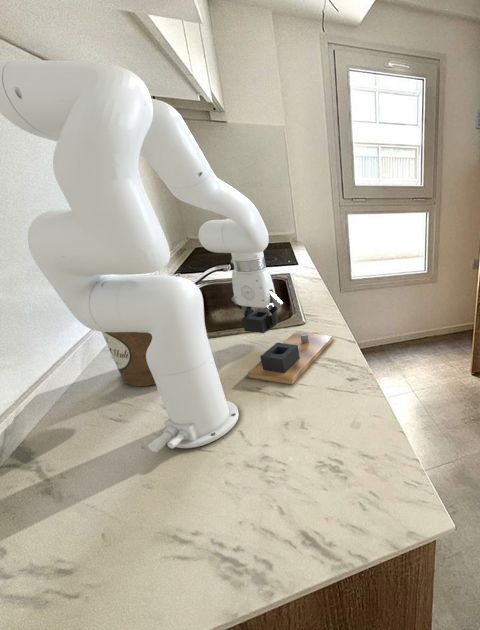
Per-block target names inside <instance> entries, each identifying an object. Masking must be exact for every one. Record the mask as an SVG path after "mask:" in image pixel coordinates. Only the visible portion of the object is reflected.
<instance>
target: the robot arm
mask: <svg viewBox="0 0 480 630" xmlns="http://www.w3.org/2000/svg"><path fill="white" fill-rule="evenodd" d="M0 114H1V115H2V117H4V118H5V119H6V120H7V121H9V122H10V123H12V124H13V125H14V126H15V127H17V128H19V129H20V130H23V131H24V132H26V133H29V134H31V135H33V136H36V137H39V138H43V139H46V140H49V141H53V142H56V144H55V146H54V147H55V148H54V152H53V157H52V158H53V159H52V166H53V168H52V169H53V173H54V177H55V180H56V182H57V185H58V187H59V188H60V190H61V192H62V194H63V196H64V198H65V200H66V202H67V205H68V207H69V208H59V209H54V210H49V211H45V212H42V213H41V214H39V215H37V216H36V217H35V218H34V219H33V220H32V222H31V223H30V225H29V227H28V231H27V243H28V249H29V252H30V254H31V257H32V259H33V261H34V263H35V264H36V266H37V267H38V268H39V270H40V272H41V273H42V274H43V276H44V277H45V279H46V280H47V281H48V283H49V284H50V285H51V287H52V288H53V290H54V291H55V292H56V295H58V296H59V298H60V299H61V301H62V302H63V304H64V305H65V306H66V308H67V309H68V310H69V311H70V314H72V315H73V317H75V319H76V320H77V321H78V322H79V323H81V324H82V325H83V326H84V327H86V328H87V329H90V330H92V331H95V332H100V333H102V332H144V333H150V334H151V335H152V341H151V343H150V345H149V347H148V349H147V352H146V360H147V364H148V366H149V369H150V371H151V373H152V376H153V378H154V381H155V383H156V384H155V387H156V388H157V390H158V393H159V396H160V398H161V401H162V403H163V405H164V408H165V410H166V413H167V416H168V419H167V420H165V421H164V425H165V429H163V431H162V434H161V435H159V436H157V437H156V438H155V439H154V440H152V441H151V442H150V443H148V445H147V447H148V449H149V450H150V451H151V452H152V453H158V452H159V451H160V450H161V449H162V448H164V447H165V446H166V445H167V447H168V448H169V449H174V448H179V449H193V448H198V447H202V446H205V445H208V444H210V443H212V442H214V441H217V440H218V439H220V438H221V437H224V436H225V435H226V434H227V433H228V432H230V431H231V429H233V427H235V426H236V424H237V422H238V421H239V417H240V416H239V415H240V412H239V408H238V406H237V405H236V404H235V403H233V402H232V401H229V400H227V399H226V395H225V392H224V389H223V385H222V381H221V378H220V375H219V372H218V369H217V365H216V361H215V358H214V355H213V352H212V348H211V345H210V342H209V337H208V333H207V329H206V322H205V306H204V305H205V304H204V298H203V293H202V291H201V289H200V288H199V287H198V285H197V284H196V283H195V282H194V281H192V280H190V279H187V278H184V277H181V276H176V275H168V274H167V275H166V274H152V273H156V272H159V271H161V270H163V269H164V268H166V267H167V266H168V264H169V262H170V259H171V249H170V245H169V243H168V240H167V238H166V235H165V233H164V230H163V228H162V225H161V223H160V221H159V219H158V216H157V214H156V212H155V209H154V208H153V205H152V203H151V201H150V199H149V196H148V194H147V192H146V189H145V186H144V184H143V180H142V178H141V175H140V173H141V172H140V157H142V158H144V159H145V160H146V161H147V162H148V163H149V164H150V166H151V167H152V168H153V170H154V172H155V173H156V174H157V176H158V177H159V178H160V179H161V181H162V182H163V183H164V185H165V186H166V187H167V188H168V190H169V191H170V192H171V194H172V195H173V196H174V197H175V198H176V199H178V200H179V201H181V202H183V203H185V204H188V205H192V206H193V207H196V208H198V209H202V210H204V211H209V212H212V213H215V214H218V215H220V216H224V217H225V218H226V219H211V220H208V221H205V222H204V223H203V224H201V226H200V227H199V230H198V236H197V237H198V241H199V243H200V245H201V246H202V247H203V248H204V249H205V250H207V251H209V252H211V253H216V254H217V253H218V254H230V255H231V260H230V264H231V265H233V269H232V271H231V282H232V283H231V286H232V292H233V295H232V297H231V301H232V302H233V303H234V304H235V305H236V307H238V309H240V312H241V313H242V314H243V317H245V316H247V315H248V314H250V313H252V312H254V311H255V310H254V309H252V308H257V309H264V310H265V312H266V314H267V316H266V322H267V327H268V329H269V330H271V329H272V328H274V327H275V326H277V324H276V318H275V313H276V312H277V311H278V310H279V309H280V308H281V307H282V306H283V304H284V302H283V300H281V299H280V298H279V297H278V296H277V294H276V290H275V286H274V282H273V278H272V275H271V273H270V271H269V269H268V268H267V266H266V260H265V255H264V251H265V250H266V248H267V247H268V245H269V240H270V239H269V237H270V236H269V232H268V229H267V226H266V224H265V222H264V219H263V218H262V215H261V214H260V211H259V210H258V208H257V207H256V205H255V204H254V203H253V202H252V201H251V200H250V199H249V198H247V196H246V195H244V194H242V193H241V192H240V191H238V190H237V189H236V188H234V187H233V186H231V185H230V184H228V183H226V182H225V181H223V180H221V179H220V178H218V177H217V176H216V174H215V172H214V170H213V169H212V167H211V165H210V163H209V161H208V160H207V159H206V156H205V155H204V153H203V151H202V150H201V148H200V146H199V144H198V143H197V141H196V140H195V137H194V136H193V134H192V133H191V131H190V129H189V126H188V125H187V124H186V122H185V120H184V118H183V117H182V115H181V114H180V113H179V112H178V110H177V109H175V108H174V106H172V105H171V104H169V103H167V102H165V101H162V100H159V99H155V98H152V97H151V94H150V91H149V90H148V87H147V86H146V84H145V82H144V81H143V79H141V78H140V76H138V75H136V73H134V72H133V71H131V70H130V69H127V68H125V67H123V66H120V65H116V64H113V63H108V62H107V63H106V62H99V61H87V60H64V59H63V60H51V59H50V60H49V59H48V60H46V59H23V58H22V59H20V58H19V59H17V58H16V59H14V58H13V59H11V58H10V59H2V60H0Z"/></svg>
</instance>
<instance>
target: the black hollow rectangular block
mask: <svg viewBox="0 0 480 630" xmlns="http://www.w3.org/2000/svg"><path fill="white" fill-rule="evenodd" d="M279 354H282V355H279ZM259 357H260V362H262V366H263V370H267V371H274V372H280V373H285V372H286V371H287V370H288V369H289V368H290V367H291V366H292V365H293V364H294V363H295V362H296V361H297V360H298V359H299V358H300V356H299V350H298V345H292V344H285V343H283V342H276V343H274V344H273V345H272V346H270V347H269V348H268V349H267V350H266V351H265V352H264V353H263V354H261V355H260V356H259Z"/></svg>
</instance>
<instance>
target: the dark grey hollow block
mask: <svg viewBox="0 0 480 630" xmlns="http://www.w3.org/2000/svg"><path fill="white" fill-rule="evenodd" d="M253 311H254V312H252V313H250V314H248V315H247V316H243V317H241V321H242V325H243V328H244V329H243V330H244V332H248V333H249V332H250V333H258V334H266V333H267V332H268V331H269V330H270V329H268V327H267V322H266V316H267V314H266V312H265V310H264V308H257V309H256V310H253ZM275 318H276V325H278V324H279V319H278V313H277V311H276V313H275Z"/></svg>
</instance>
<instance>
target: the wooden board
mask: <svg viewBox="0 0 480 630" xmlns="http://www.w3.org/2000/svg"><path fill="white" fill-rule="evenodd" d="M333 341H334V339H333V336H332V335H325V334H318V333H310V332H308V331H307V332H306V331H305V332H304V331H295V332H293V333H292V334H291V335H290V336H289V337H287V338H286V339H285V340H284V341H282V343H285V344H292V345H298V350H299V356H300V358H299V359H298V360H297V361H296V362H295V363H294V364H293V365H292V366H291V367H290V368H289V369H288V370H287V371H286V372H285V373H280V372H274V371H267V370H263V366H262V362H261V361H259V362H258V363H257V364H255V366H253V368H251V369H250V370H248V371H247V376H248V378H250V379H256V380H261V381H269V382H275V383H282V384H288V385H294V383H296V381H297V380H298V379H299V378H300V377H301V375H303V374H304V372H305V371H306V370H307V369H308V368H309V367H310V366H311V365H312V364H313V362H315V361H316V359H317V358H318V357H319V356H320V355H321V354H322V353H323V352H324V351H325V350H326V349H327V348H328V346H330V344H331V343H332V342H333ZM279 355H282V354H279Z"/></svg>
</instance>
